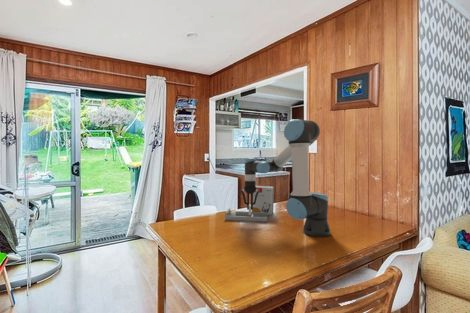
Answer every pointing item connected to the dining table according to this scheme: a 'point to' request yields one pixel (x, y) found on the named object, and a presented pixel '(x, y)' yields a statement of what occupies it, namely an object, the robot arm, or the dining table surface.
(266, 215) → the lane
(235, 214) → the ball
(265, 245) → the dining table surface
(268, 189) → the hard drive box
